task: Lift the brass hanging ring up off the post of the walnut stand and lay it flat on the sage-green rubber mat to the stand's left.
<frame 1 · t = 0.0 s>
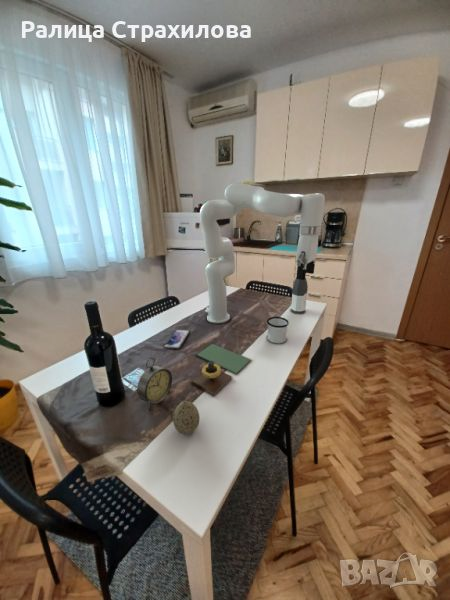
hand: (305, 276, 93), 31 cm above the table, tool pointing down, fingers open, 9 cm apart
wine bottle: (297, 311, 136), on the table
mat: (223, 358, 97), on the table
ring: (211, 372, 83), point 4 cm above the table, touching stand
alarm clock: (157, 400, 77), on the table
stand: (212, 381, 85), on the table
smartphone: (177, 339, 111), on the table
mug: (277, 337, 111), on the table
decorative egg: (187, 430, 67), on the table
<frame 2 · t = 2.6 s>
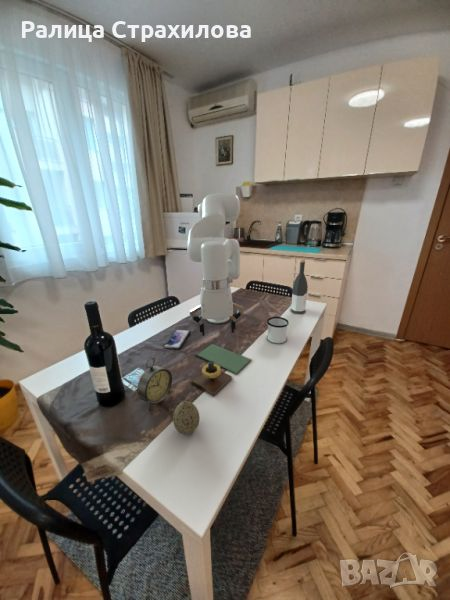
hand: (217, 332, 79), 19 cm above the table, tool pointing down, fingers open, 9 cm apart
nothing on the table moved.
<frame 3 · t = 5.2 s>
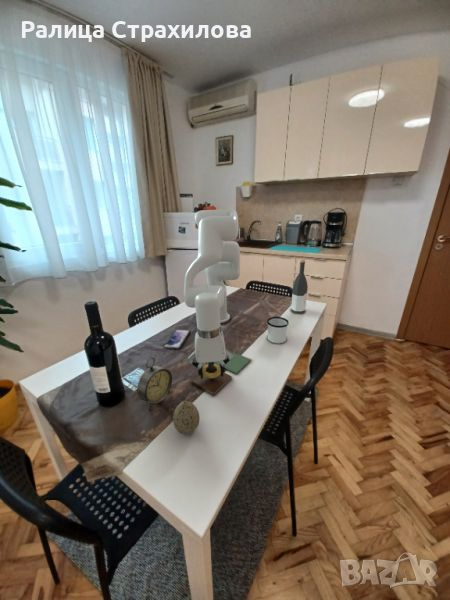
hand: (211, 374, 84), 3 cm above the table, tool pointing down, fingers closed on ring, 6 cm apart
ring: (211, 372, 83), point 4 cm above the table, touching gripper, stand
everything else where it was.
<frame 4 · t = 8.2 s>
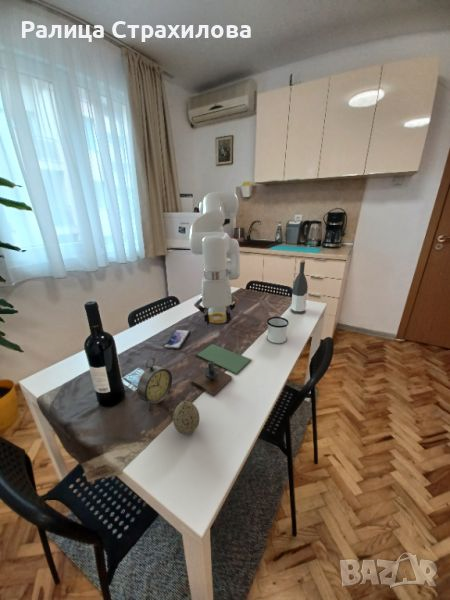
hand: (217, 321, 85), 19 cm above the table, tool pointing down, fingers closed on ring, 6 cm apart
ring: (217, 318, 85), point 20 cm above the table, touching gripper
everything else where it was.
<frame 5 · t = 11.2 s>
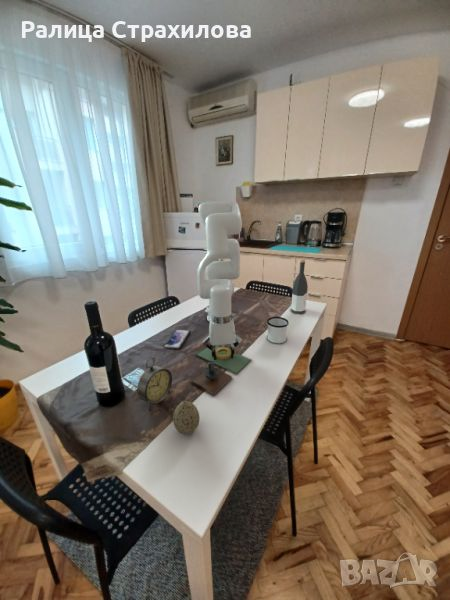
hand: (223, 356, 97), 1 cm above the table, tool pointing down, fingers closed on ring, 6 cm apart
ring: (223, 354, 96), point 2 cm above the table, touching gripper
everything else where it was.
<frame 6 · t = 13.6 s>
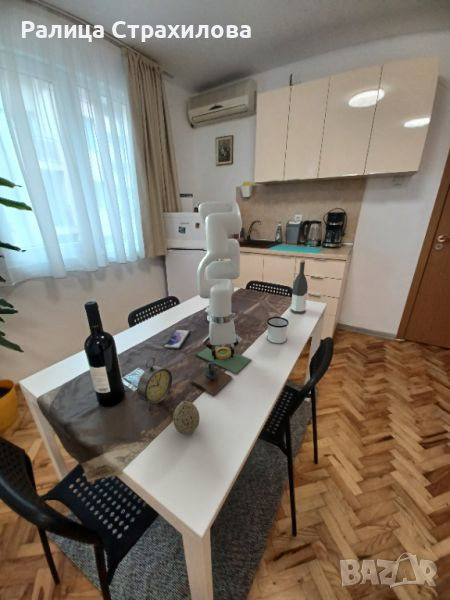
hand: (223, 356, 97), 1 cm above the table, tool pointing down, fingers closed on ring, 6 cm apart
ring: (223, 353, 96), point 2 cm above the table, touching gripper
everything else where it was.
when the fingers open (1 cm above the table, at t = 15.4 s): ring drops 2 cm, resting on mat.
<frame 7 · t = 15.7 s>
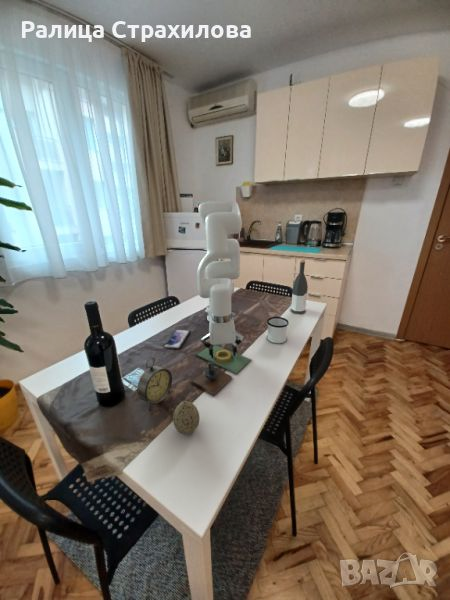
hand: (223, 354, 96), 2 cm above the table, tool pointing down, fingers open, 8 cm apart
ring: (223, 356, 97), point 1 cm above the table, touching mat
everything else where it was.
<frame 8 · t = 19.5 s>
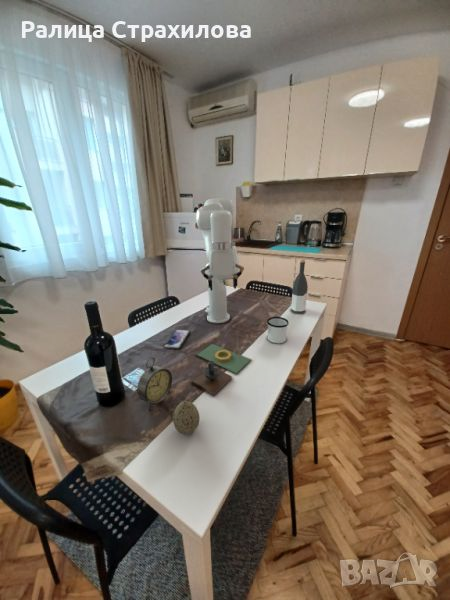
hand: (223, 288, 97), 26 cm above the table, tool pointing down, fingers open, 9 cm apart
nothing on the table moved.
at the end: ring inside the target area (0.0 cm from its centre), point 0.6 cm above the table; the gripper is holding nothing; ring tilted 0° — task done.
